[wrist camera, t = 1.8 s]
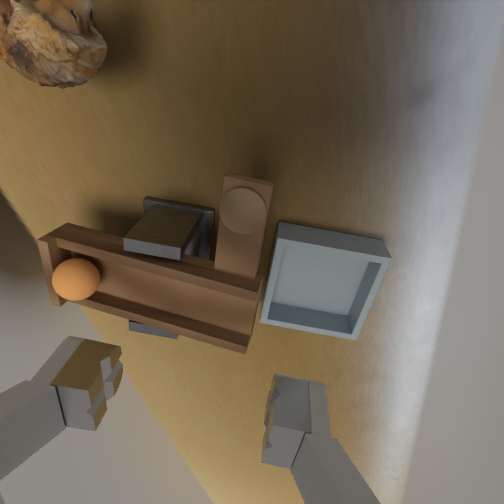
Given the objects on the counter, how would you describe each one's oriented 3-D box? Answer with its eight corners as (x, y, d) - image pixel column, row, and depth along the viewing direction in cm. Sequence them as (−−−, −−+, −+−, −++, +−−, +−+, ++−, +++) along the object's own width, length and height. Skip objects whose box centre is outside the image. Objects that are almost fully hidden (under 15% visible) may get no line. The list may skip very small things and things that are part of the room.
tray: (278, 221, 28) (277, 238, 26) (382, 240, 28) (392, 258, 25) (262, 301, 33) (259, 322, 30) (351, 318, 33) (356, 340, 30)
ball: (68, 246, 26) (37, 268, 23) (106, 255, 25) (80, 279, 22) (73, 279, 27) (45, 303, 24) (109, 288, 27) (85, 313, 24)
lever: (52, 131, 22) (15, 140, 20) (282, 183, 20) (273, 200, 18) (77, 283, 29) (51, 304, 26) (251, 334, 27) (242, 362, 24)
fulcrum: (146, 196, 28) (108, 232, 22) (214, 208, 28) (195, 248, 22) (148, 281, 33) (117, 330, 27) (206, 292, 33) (188, 343, 27)
